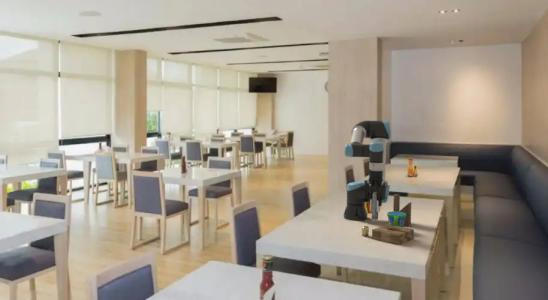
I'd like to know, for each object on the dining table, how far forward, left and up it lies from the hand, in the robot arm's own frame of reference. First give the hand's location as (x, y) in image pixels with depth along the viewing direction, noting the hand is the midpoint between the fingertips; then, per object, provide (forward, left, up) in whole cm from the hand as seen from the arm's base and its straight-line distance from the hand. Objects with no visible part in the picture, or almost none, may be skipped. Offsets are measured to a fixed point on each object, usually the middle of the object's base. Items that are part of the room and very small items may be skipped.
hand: (375, 211), depth 253 cm
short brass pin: (+10, 0, -12) cm, 16 cm away
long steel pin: (0, 0, -4) cm, 4 cm away
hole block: (+5, +14, -12) cm, 19 cm away
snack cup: (-12, +7, -12) cm, 18 cm away
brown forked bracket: (-28, +2, -12) cm, 30 cm away
